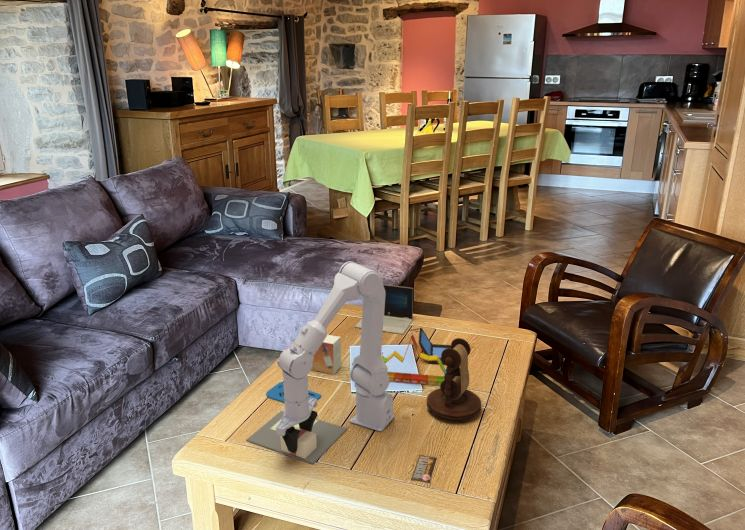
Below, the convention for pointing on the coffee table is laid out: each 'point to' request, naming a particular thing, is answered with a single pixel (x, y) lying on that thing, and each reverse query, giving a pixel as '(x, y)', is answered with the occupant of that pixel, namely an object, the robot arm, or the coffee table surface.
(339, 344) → the small box
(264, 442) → the mat
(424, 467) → the chocolate bar
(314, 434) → the card deck
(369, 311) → the robot arm
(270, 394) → the handheld gaming device
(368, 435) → the coffee table surface
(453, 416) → the brown upright jointed piece
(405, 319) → the laptop
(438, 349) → the handheld game console
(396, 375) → the chart
